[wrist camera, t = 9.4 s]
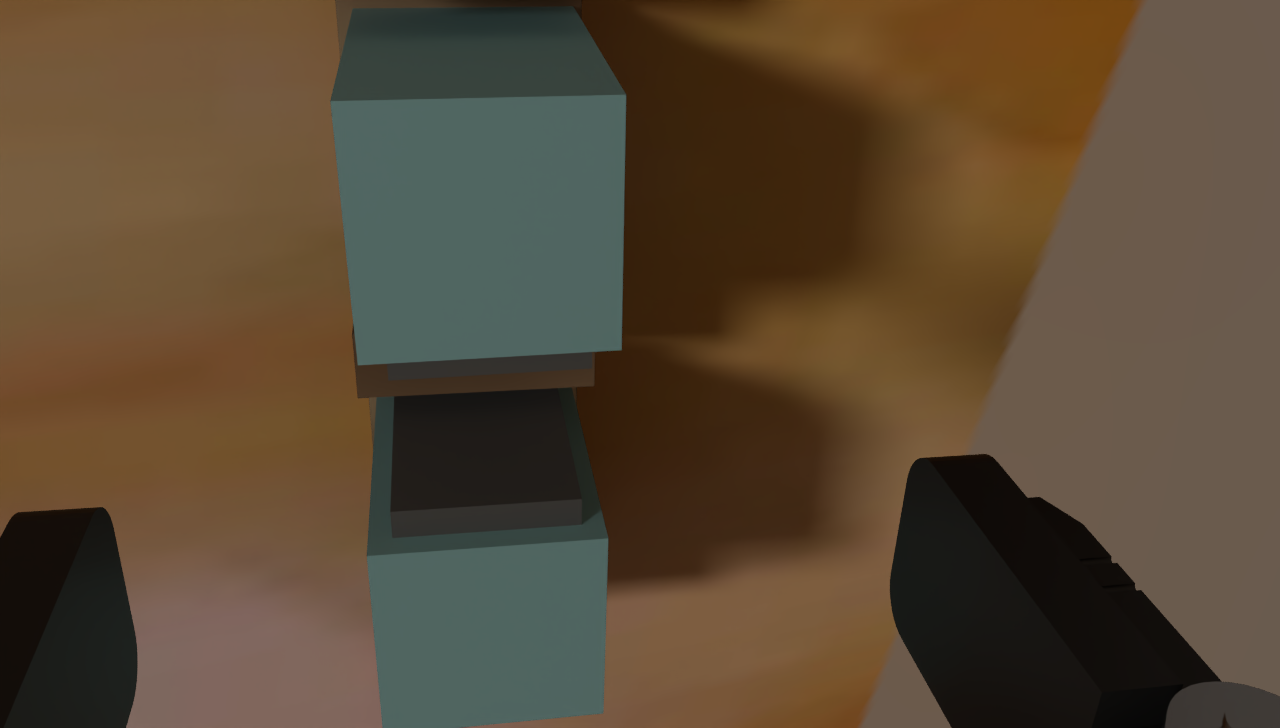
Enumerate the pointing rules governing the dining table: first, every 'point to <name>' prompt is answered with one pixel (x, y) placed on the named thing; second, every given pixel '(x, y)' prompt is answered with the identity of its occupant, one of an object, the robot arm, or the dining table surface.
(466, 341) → the teal block
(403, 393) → the rail
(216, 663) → the dining table surface
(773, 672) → the dining table surface
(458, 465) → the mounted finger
